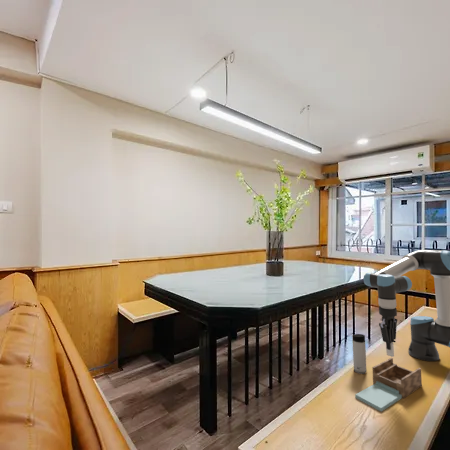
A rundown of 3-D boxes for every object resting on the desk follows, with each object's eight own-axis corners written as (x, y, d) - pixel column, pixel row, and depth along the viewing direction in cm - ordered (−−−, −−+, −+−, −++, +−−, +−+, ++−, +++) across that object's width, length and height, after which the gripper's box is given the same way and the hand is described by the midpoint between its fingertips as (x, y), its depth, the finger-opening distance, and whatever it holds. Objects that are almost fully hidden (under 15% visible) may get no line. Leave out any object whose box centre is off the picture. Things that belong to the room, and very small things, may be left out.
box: (391, 373, 145) (391, 357, 145) (421, 385, 133) (420, 368, 134) (373, 384, 136) (372, 367, 136) (403, 398, 124) (402, 379, 124)
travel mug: (360, 375, 145) (358, 337, 145) (351, 369, 151) (349, 333, 152) (369, 373, 146) (368, 335, 147) (360, 367, 153) (359, 331, 153)
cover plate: (376, 387, 134) (375, 380, 134) (401, 399, 124) (401, 391, 124) (355, 398, 125) (355, 391, 126) (381, 412, 115) (380, 404, 116)
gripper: (386, 302, 139) (389, 349, 139) (372, 307, 132) (375, 356, 132) (402, 305, 133) (405, 354, 132) (388, 311, 126) (391, 362, 125)
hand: (390, 355), depth 132 cm, fingers closed
